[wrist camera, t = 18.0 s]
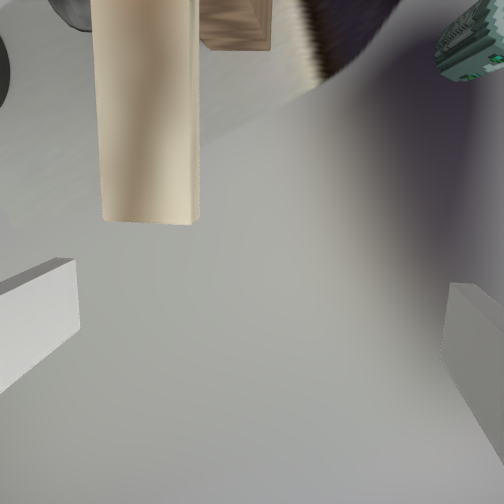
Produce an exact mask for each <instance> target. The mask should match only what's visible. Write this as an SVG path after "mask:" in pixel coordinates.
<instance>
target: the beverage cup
mask: <svg viewBox="0 0 504 504" xmlns="http://www.w3.org/2000/svg"><path fill="white" fill-rule="evenodd" d="M48 1H49V3H50V4H51V6H52V8H53V9H54V11H55V12H56V13H57V14H58V15H59V16H60V17H61V18H62V19H63V20H64V21H65V22H66V23H67V24H68V25H69V26H70V27H72V28H75V29H77V30H79V31H81V32H92V18H91V1H90V0H48Z"/></svg>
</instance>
